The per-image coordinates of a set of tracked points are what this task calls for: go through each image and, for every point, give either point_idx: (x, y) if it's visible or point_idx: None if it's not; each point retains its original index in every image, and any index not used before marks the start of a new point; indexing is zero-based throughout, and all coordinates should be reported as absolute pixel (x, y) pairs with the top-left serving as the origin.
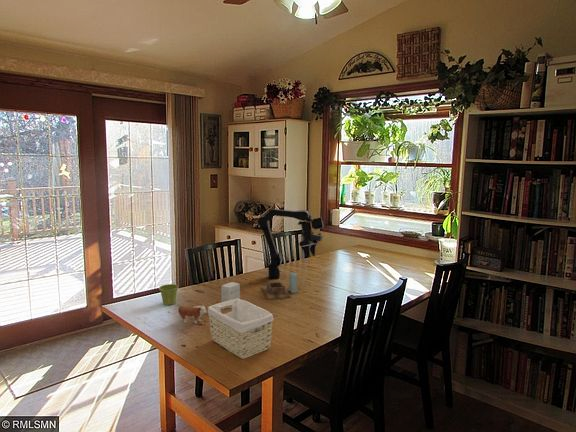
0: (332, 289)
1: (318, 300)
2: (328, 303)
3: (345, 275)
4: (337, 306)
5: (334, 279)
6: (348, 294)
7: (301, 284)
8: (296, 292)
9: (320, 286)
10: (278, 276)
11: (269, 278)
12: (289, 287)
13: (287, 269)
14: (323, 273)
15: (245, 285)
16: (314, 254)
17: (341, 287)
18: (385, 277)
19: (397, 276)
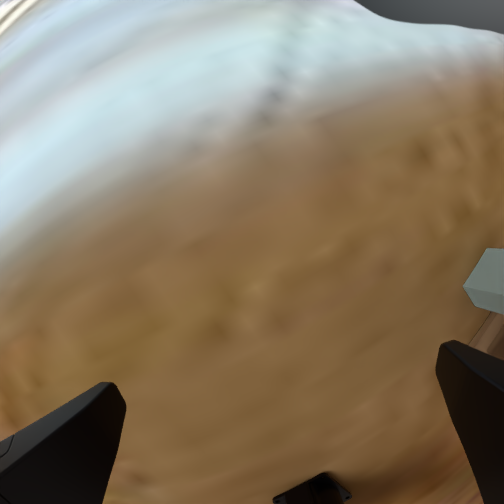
0: (337, 79)
1: (495, 110)
2: (487, 68)
3: (20, 152)
4: (480, 39)
5: (116, 158)
6: (350, 4)
7: (365, 310)
8: (487, 249)
9: (332, 167)
10: (313, 485)
11: (350, 494)
12: (485, 307)
13: (128, 499)
14: (41, 296)
15: (459, 476)
16: (100, 397)
17: (265, 49)
18: (18, 17)
19: (5, 8)
